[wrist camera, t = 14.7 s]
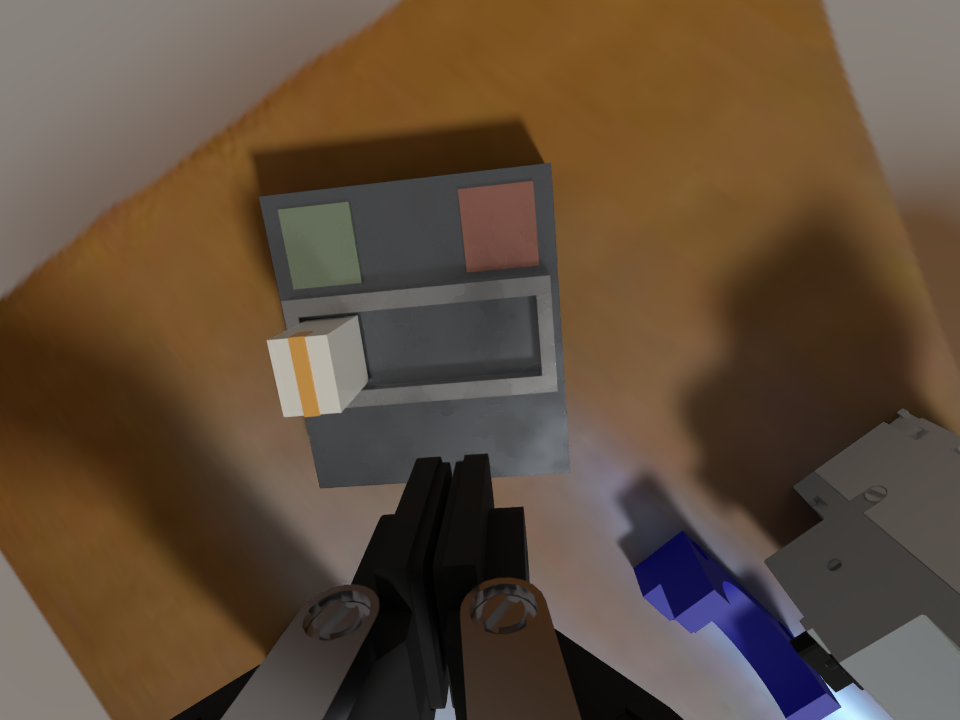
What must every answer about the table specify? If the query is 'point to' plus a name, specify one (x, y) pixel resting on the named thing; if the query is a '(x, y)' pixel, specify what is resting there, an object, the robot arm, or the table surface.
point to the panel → (433, 319)
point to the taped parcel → (318, 366)
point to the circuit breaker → (883, 569)
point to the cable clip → (733, 623)
